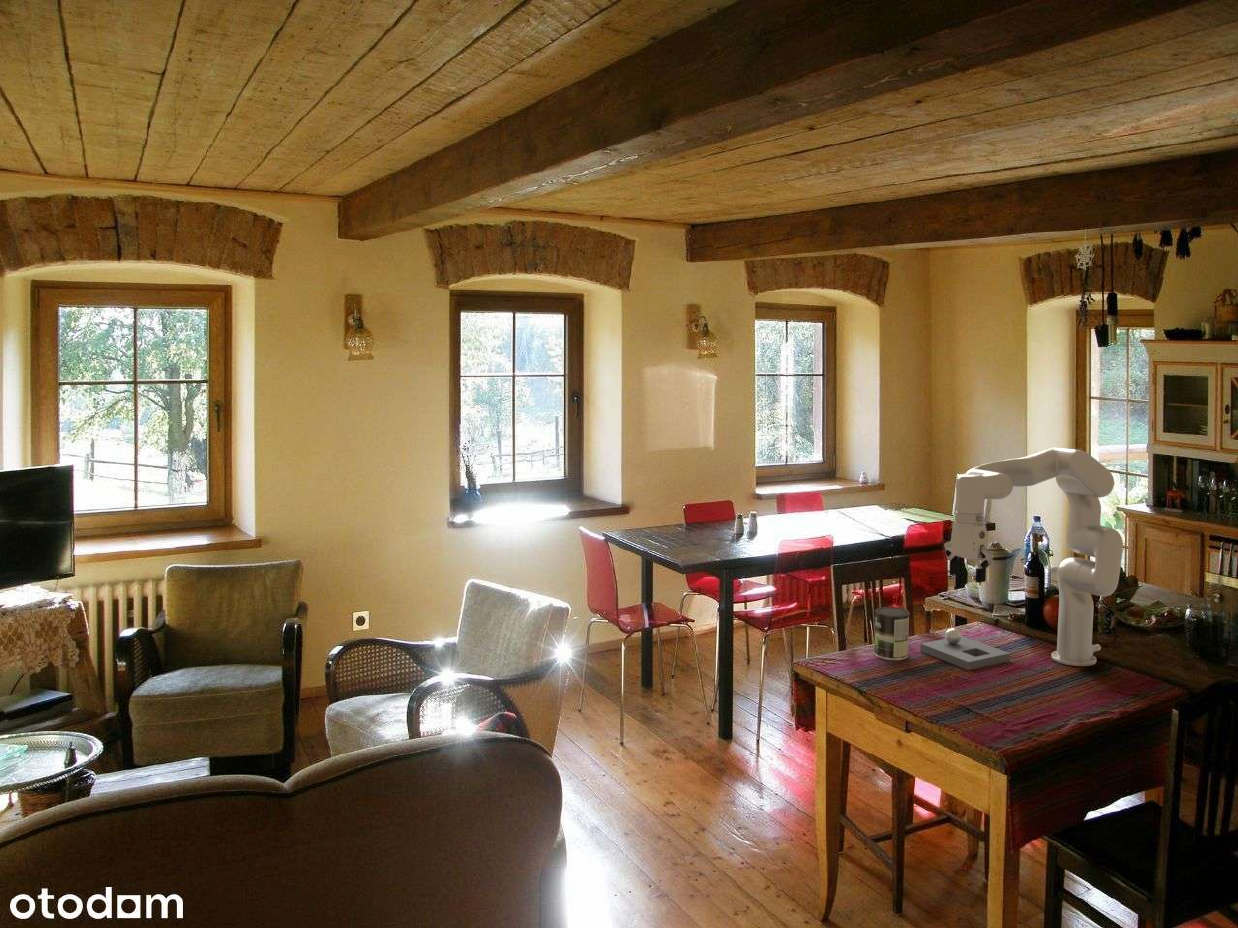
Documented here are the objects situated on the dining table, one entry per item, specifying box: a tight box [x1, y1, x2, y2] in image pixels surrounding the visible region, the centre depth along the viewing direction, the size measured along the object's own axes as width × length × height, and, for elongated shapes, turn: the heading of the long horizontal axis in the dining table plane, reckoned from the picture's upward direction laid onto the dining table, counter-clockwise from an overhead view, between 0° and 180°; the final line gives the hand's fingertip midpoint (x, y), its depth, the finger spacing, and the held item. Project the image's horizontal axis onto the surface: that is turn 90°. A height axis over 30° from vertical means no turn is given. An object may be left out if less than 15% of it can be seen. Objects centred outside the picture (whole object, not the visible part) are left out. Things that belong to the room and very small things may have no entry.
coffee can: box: [873, 606, 911, 661], centre depth 312 cm, size 10×10×14 cm
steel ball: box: [944, 627, 962, 644], centre depth 315 cm, size 5×5×5 cm
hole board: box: [920, 635, 1011, 671], centre depth 311 cm, size 17×20×2 cm
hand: (967, 578), depth 282 cm, fingers open, 9 cm apart
